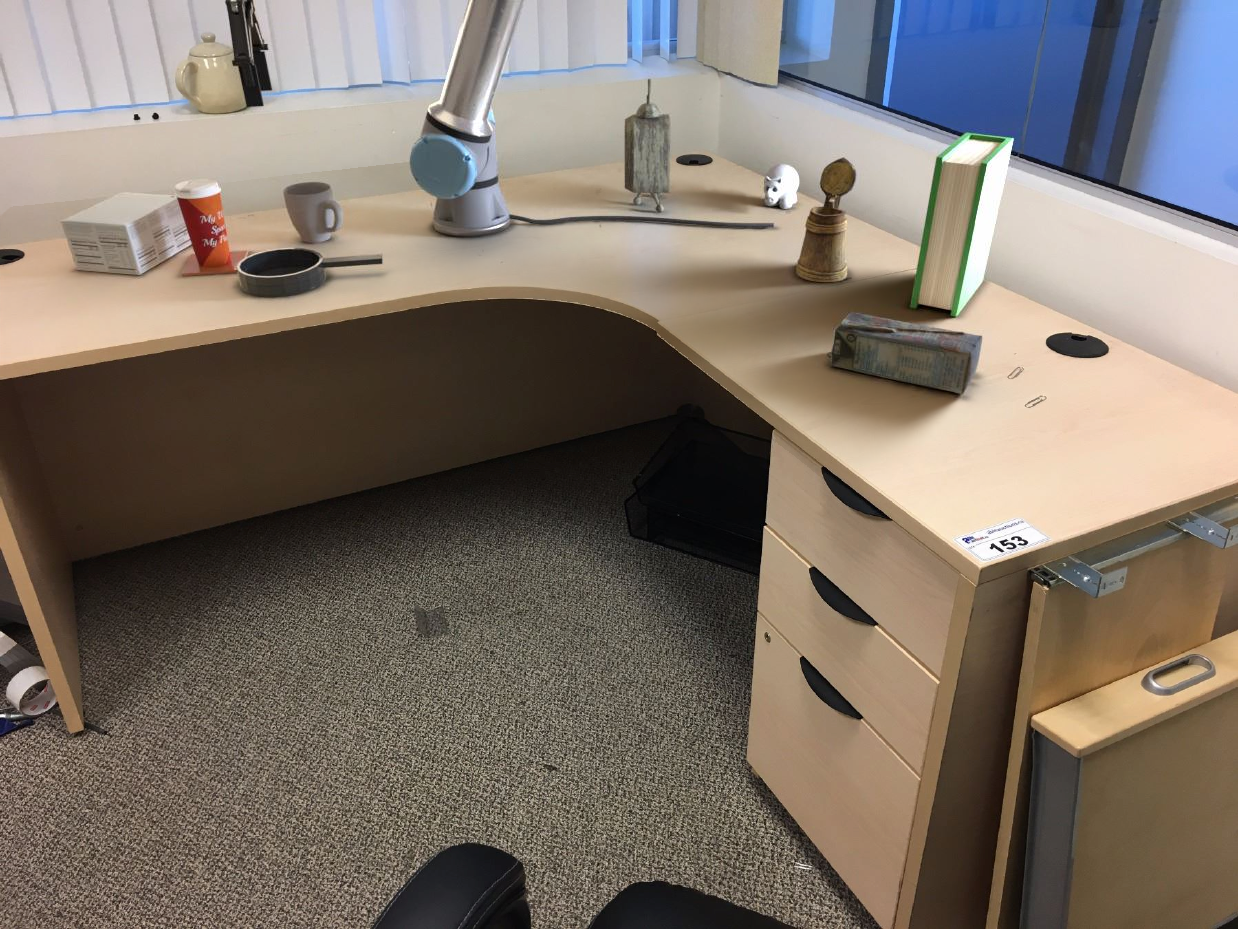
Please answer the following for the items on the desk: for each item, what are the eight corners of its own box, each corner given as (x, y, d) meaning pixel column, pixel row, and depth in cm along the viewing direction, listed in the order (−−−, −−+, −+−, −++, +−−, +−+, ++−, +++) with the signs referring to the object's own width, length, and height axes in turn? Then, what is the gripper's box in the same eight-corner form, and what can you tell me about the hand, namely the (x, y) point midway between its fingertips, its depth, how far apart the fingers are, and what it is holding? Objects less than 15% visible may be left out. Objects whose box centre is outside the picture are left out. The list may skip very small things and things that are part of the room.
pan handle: (382, 259, 166) (382, 253, 165) (382, 264, 164) (381, 258, 163) (324, 263, 164) (323, 257, 164) (323, 268, 162) (322, 262, 162)
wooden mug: (856, 259, 171) (870, 159, 161) (841, 285, 161) (855, 179, 151) (807, 253, 174) (818, 154, 164) (790, 278, 164) (800, 174, 154)
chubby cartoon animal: (748, 214, 194) (751, 172, 189) (769, 198, 203) (772, 158, 198) (782, 219, 191) (785, 176, 186) (801, 203, 200) (805, 162, 195)
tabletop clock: (668, 215, 193) (671, 86, 180) (624, 215, 193) (624, 86, 180) (666, 194, 205) (669, 72, 192) (625, 194, 205) (625, 72, 192)
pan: (328, 264, 170) (325, 245, 168) (323, 293, 159) (319, 273, 157) (247, 269, 168) (242, 250, 166) (235, 300, 156) (230, 280, 154)
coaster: (248, 253, 175) (247, 250, 175) (240, 272, 167) (240, 269, 167) (192, 256, 174) (191, 254, 173) (181, 276, 165) (180, 273, 165)
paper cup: (222, 270, 166) (203, 191, 159) (183, 267, 167) (162, 189, 160) (245, 255, 173) (228, 178, 165) (207, 252, 174) (189, 176, 166)
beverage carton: (845, 346, 141) (851, 304, 137) (977, 374, 133) (987, 331, 129) (828, 367, 135) (833, 324, 131) (965, 398, 127) (975, 354, 123)
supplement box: (134, 239, 182) (120, 190, 177) (195, 243, 180) (183, 195, 174) (74, 270, 168) (57, 219, 163) (140, 275, 166) (125, 223, 161)
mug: (282, 241, 181) (272, 191, 175) (315, 228, 187) (307, 179, 182) (329, 251, 176) (320, 200, 171) (361, 237, 182) (354, 188, 177)
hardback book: (956, 316, 150) (987, 163, 137) (910, 307, 153) (936, 156, 140) (982, 281, 162) (1013, 138, 149) (939, 273, 165) (966, 132, 153)
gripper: (219, -44, 163) (246, 85, 175) (194, -32, 143) (227, 114, 154) (264, -46, 165) (288, 83, 176) (245, -33, 144) (274, 112, 155)
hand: (260, 98), depth 165 cm, fingers open, 13 cm apart
